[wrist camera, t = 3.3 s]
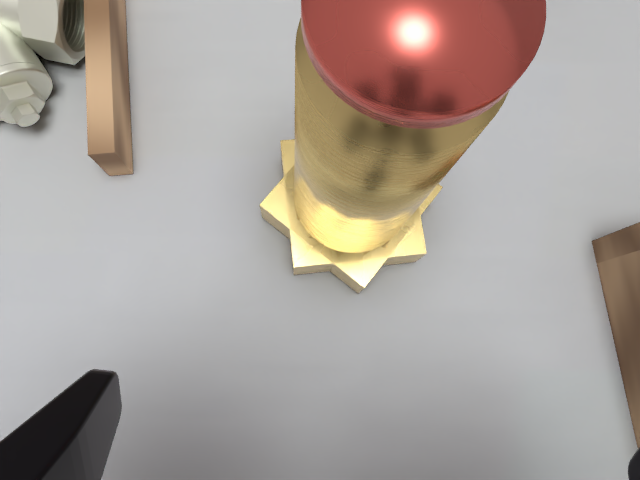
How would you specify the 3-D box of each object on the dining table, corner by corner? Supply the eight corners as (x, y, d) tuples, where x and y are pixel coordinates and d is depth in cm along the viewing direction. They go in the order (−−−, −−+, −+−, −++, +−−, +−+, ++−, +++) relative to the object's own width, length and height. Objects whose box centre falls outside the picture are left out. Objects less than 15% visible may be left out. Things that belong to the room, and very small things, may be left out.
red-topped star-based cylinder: (444, 284, 23) (670, 173, 9) (270, 303, 23) (235, 216, 9) (417, 123, 25) (579, -181, 11) (254, 137, 24) (203, -163, 10)
